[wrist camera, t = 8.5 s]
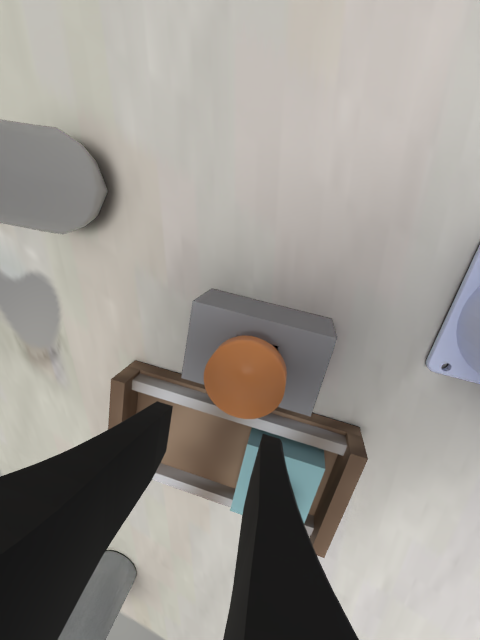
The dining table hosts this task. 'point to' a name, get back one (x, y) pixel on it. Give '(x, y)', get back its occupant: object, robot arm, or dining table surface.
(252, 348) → the button
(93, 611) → the planter
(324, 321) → the grey rectangular block
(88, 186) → the salt shaker
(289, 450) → the blue block with peg
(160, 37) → the dining table surface
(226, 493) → the rail board
